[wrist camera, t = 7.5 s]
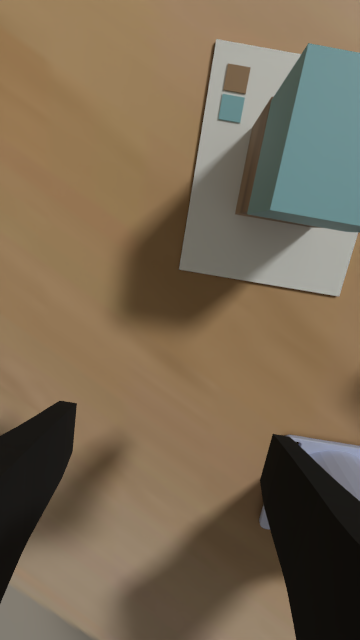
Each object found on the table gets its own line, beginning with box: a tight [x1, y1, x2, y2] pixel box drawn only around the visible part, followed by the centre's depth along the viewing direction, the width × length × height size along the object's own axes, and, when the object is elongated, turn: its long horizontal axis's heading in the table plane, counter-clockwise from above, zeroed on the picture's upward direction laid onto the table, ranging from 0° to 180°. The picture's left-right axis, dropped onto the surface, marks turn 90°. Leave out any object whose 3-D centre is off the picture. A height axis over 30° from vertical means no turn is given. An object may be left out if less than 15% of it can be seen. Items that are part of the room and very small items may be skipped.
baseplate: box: [179, 39, 358, 296], centre depth 19 cm, size 10×12×1 cm
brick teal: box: [247, 43, 360, 232], centre depth 13 cm, size 5×5×5 cm
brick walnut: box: [235, 97, 321, 228], centre depth 17 cm, size 5×5×5 cm
